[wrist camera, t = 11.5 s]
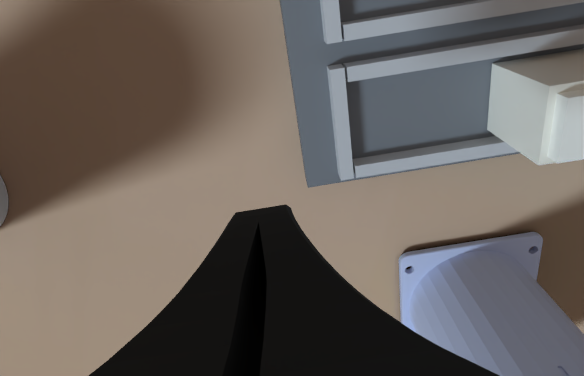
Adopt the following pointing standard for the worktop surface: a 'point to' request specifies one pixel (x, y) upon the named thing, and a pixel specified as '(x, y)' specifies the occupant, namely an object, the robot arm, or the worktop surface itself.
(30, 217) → the worktop surface
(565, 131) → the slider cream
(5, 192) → the cup
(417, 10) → the panel
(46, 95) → the worktop surface
